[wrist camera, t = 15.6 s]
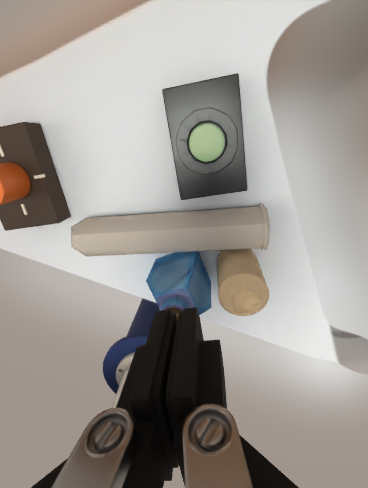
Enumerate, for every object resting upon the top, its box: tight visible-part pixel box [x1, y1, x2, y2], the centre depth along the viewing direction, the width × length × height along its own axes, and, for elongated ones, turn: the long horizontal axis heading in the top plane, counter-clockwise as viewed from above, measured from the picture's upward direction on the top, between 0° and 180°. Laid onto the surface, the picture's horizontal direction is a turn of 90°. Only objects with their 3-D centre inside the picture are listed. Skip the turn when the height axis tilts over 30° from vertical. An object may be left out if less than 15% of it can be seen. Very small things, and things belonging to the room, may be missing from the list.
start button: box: [189, 123, 225, 162], centre depth 27 cm, size 4×4×2 cm
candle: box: [217, 249, 269, 316], centre depth 32 cm, size 6×6×10 cm
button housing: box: [162, 74, 247, 200], centre depth 29 cm, size 12×8×4 cm, turn 9°
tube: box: [71, 204, 270, 256], centre depth 33 cm, size 5×5×25 cm
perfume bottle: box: [146, 251, 211, 320], centre depth 32 cm, size 6×6×12 cm
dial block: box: [0, 122, 71, 230], centre depth 33 cm, size 12×9×3 cm
